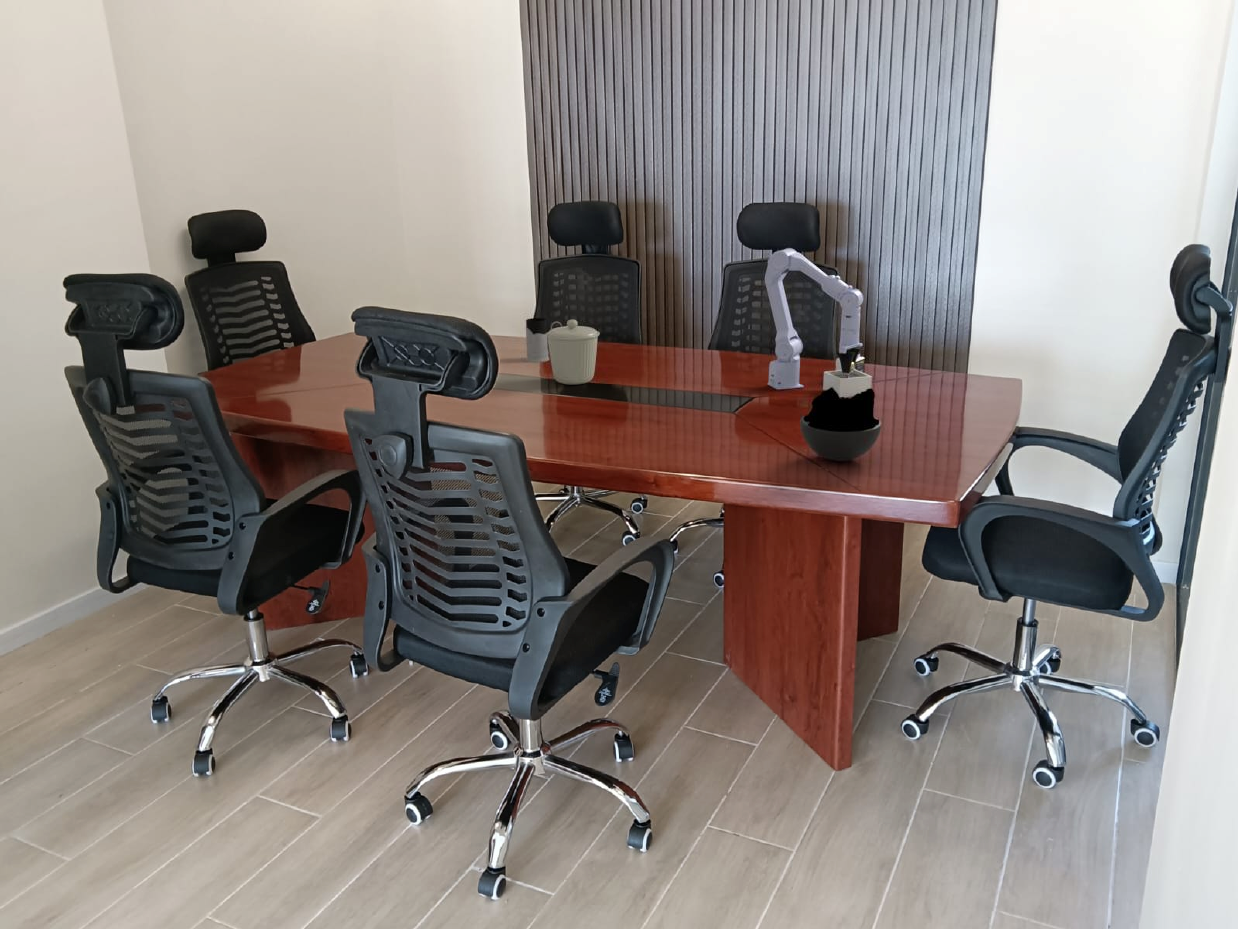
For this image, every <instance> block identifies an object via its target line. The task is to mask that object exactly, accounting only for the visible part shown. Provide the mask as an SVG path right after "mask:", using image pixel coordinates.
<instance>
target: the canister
mask: <svg viewBox="0 0 1238 929" xmlns="http://www.w3.org/2000/svg"><path fill="white" fill-rule="evenodd" d="M600 334H601V333H600V331H597V330H596V329H595V328H593V327H589V326H583V325H582V326H581V325H579V324H578V321H577V320H576V319H569V320H567V322H566V326H562V327H561V326H560V327H559V326H558V327H555V328H552V330H551V329H550V330H549V331H548V332H547V333H546V334H545V335H546V337H547V339H548V350H549V359H550V364H551V368H552V375H553V378H554V380H555V381H556V382H557V383H559V384H561V385H562V384H564V385H582V384H586V383H589V382H591V381H592V379H593V378H594V375H595V369H596V359H597V350H598V349H597V347H598V337H599V336H600Z"/></svg>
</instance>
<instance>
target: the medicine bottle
mask: <svg viewBox="0 0 1238 929" xmlns="http://www.w3.org/2000/svg"><path fill="white" fill-rule="evenodd" d="M858 347H859V348H862V346H858ZM865 361H866V360H865V357H864V356H861V351H860V352H859V354H858V356H857V359H856V363H855V366H854V369H856V370H858V371H860V372H863V373H865ZM839 370H842V368H841V363H840V359H839V357H838V358H836V360H835V371H839Z"/></svg>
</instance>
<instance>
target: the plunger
mask: <svg viewBox="0 0 1238 929" xmlns="http://www.w3.org/2000/svg"><path fill="white" fill-rule="evenodd" d="M853 371H854V362H852V363H851V369H850V372H853ZM834 376H836V377H839V378H841V379H842V378H854V377H860V376H858V375H856V374H849V373H846V374H842V375H834Z"/></svg>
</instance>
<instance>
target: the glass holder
mask: <svg viewBox="0 0 1238 929" xmlns="http://www.w3.org/2000/svg"><path fill="white" fill-rule="evenodd" d="M556 323H557V324H559V325H560V327H563V324H562V323H561V322H559V321H554V322H553V323H551V325H550V330H552V329H553V325H554V324H556ZM525 325H526V326H525V339H526V340H525V341H526V358H525V361H527V362H530V363H545V362H548V361H550V356H549V355H550V351H549V345H548V338H547V337H546V335H545V334H546V333H547V330H548V329H547V326H548V325H547V318H542V317H533V318H526V319H525Z"/></svg>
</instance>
